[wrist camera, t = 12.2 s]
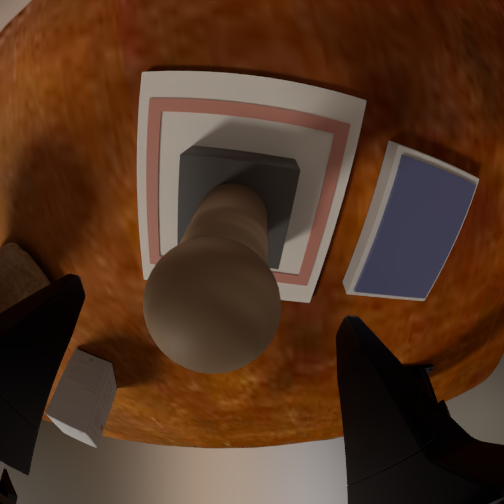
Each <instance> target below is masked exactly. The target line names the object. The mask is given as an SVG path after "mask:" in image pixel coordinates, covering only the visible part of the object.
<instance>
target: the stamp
mask: <svg viewBox="0 0 504 504" xmlns="http://www.w3.org/2000/svg"><path fill="white" fill-rule="evenodd" d="M299 175H300V168H299V166H298V164H297V162H296V160H295V159H292V158H286V157H280V156H274V155H268V154H261V153H254V152H247V151H240V150H232V149H223V148H214V147H203V146H191V147H189V148H188V149H187V150H185V151H184V152H183V153H181V154H180V163H179V185H178V232H177V243H178V245H177V246H175V247H174V248H172V249H171V250H169V251H168V252H167V253H166V254H165V255H164V256H163V257H162V258H161V259H160V260H159V261H158V262H157V264H156V265H155V267H154V268H153V270H152V271H151V273H150V275H149V278H148V280H147V283H146V286H145V291H144V298H143V310H144V317H145V322H146V325H147V328H148V330H149V333H150V335H151V337H152V338H153V340H154V342H155V343H156V345H157V346H158V347H159V349H160V350H161V351H162V352H163V353H164V354H165V355H166V356H167V357H168V358H170V359H171V360H172V361H174V362H175V363H177V364H179V365H181V366H183V367H185V368H187V369H190V370H193V371H196V372H201V373H211V374H212V373H225V372H230V371H233V370H236V369H239V368H241V367H244V366H245V365H247V364H249V363H250V362H252V361H253V360H255V359H256V358H257V357H258V356H259V355H260V354H261V353H262V352H263V351H264V350H265V349H266V348H267V346H268V345H269V344H270V342H271V340H272V339H273V337H274V335H275V332H276V330H277V327H278V324H279V319H280V315H281V298H280V292H279V287H278V285H277V282H276V279H275V277H274V275H273V273H272V271H271V269H270V268H272V269H279V265H280V261H281V256H282V252H283V248H284V244H285V239H286V235H287V230H288V226H289V222H290V217H291V213H292V208H293V203H294V199H295V194H296V189H297V185H298V180H299Z"/></svg>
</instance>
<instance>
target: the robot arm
mask: <svg viewBox="0 0 504 504" xmlns="http://www.w3.org/2000/svg"><path fill="white" fill-rule="evenodd" d="M84 300H85V292H84V289H83V285H82V282H81V279H80V277H79V276H78V275H74V274H68V275H66V276H64V277H62V278H60V279H58V280H57V281H55V282H53V283H51V284H49V285H47V286H46V287H44V288H42V289H40V290H39V291H37V292H35V293H33V294H32V295H30V296H28V297H26V298H25V299H23V300H21V301H20V302H18V303H16V304H15V305H13V306H11V307H10V308H8V309H6V310H5V311H3V312H1V313H0V504H16V501H17V494H16V492H15V490H14V487H13V485H12V483H11V480H10V478H9V475H8V472H7V470H6V469H5V468H4V466H5V464H7V465H8V466H10V467H12V468H14V469H16V470H18V471H20V472H22V473H24V474H26V475H29V472H30V466H31V461H32V456H33V452H34V447H35V442H36V439H37V435H38V430H39V427H40V423H41V420H42V416H43V413H44V409H45V406H46V403H47V400H48V397H49V394H50V391H51V388H52V385H53V382H54V380H55V377H56V374H57V371H58V369H59V366H60V364H61V361H62V359H63V356H64V354H65V351H66V349H67V346H68V344H69V342H70V339H71V337H72V334H73V331H74V329H75V326H76V323H77V320H78V317H79V314H80V311H81V308H82V305H83V303H84ZM336 351H337V379H338V388H339V396H340V404H341V413H342V422H343V432H344V442H345V454H346V468H347V485H348V486H347V489H348V504H504V445H500V444H494V443H488V442H483V441H479V440H477V439H475V438H473V437H471V436H470V435H469V434H468V433H467V432H466V431H465V430H464V429H462V428H461V427H460V426H459V425H458V424H457V423H456V422H455V421H454V420H453V419H452V418H451V416H450V413H449V410H448V407H447V405H446V403H445V401H444V399H443V400H442V401H440V402H439V403H438V402H437V399H436V396H435V393H434V390H433V387H432V385H431V382H430V379H429V377H428V375H429V374H430V373H431V371H432V370H433V369H434V366H433V365H425V366H413V367H404V366H403V365H402V364H401V362H400V361H399V360H398V359H397V358H396V357H395V356H394V355H393V354H392V353H391V351H390V350H389V349H388V348H387V347H386V346H385V345H384V344H383V343H382V342H381V341H380V339H379V338H378V337H377V336H376V335H375V334H374V333H373V332H372V331H371V330H370V329H369V328H368V327H367V325H366V324H365V323H364V322H363V321H362V320H361V319H360V318H359V317H357V316H349V315H348V316H346V317H345V318H344V319H343V321H342V323H341V325H340V327H339V329H338V331H337V334H336Z"/></svg>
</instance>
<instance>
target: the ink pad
mask: <svg viewBox="0 0 504 504" xmlns="http://www.w3.org/2000/svg"><path fill="white" fill-rule="evenodd" d="M478 182H479V179H478V178H477V177H475V176H473V175H472V174H470V173H468V172H466V171H464V170H462V169H460V168H457V167H455V166H453V165H451V164H449V163H446V162H444V161H442V160H439V159H437V158H435V157H432V156H430V155H427V154H425V153H422V152H420V151H417V150H415V149H412V148H409V147H406V146H404V145H401V144H398V143H395V142H392V141H388V145H387V149H386V153H385V156H384V160H383V164H382V168H381V171H380V175H379V178H378V182H377V185H376V188H375V192H374V195H373V198H372V201H371V205H370V208H369V211H368V214H367V217H366V220H365V223H364V226H363V229H362V232H361V234H360V237H359V240H358V243H357V246H356V248H355V251H354V254H353V256H352V259H351V262H350V264H349V267H348V269H347V272H346V274H345V277H344V280H343V285H344V288H345V291H346V294H352V295H362V296H372V297H383V298H394V299H405V300H417V301H425V299H426V297H427V295H428V294H429V292H430V290H431V288H432V287H433V285H434V283H435V281H436V279H437V277H438V276H439V274H440V272H441V270H442V268H443V266H444V264H445V262H446V260H447V258H448V256H449V254H450V252H451V250H452V248H453V245H454V243H455V241H456V239H457V237H458V234H459V232H460V230H461V227H462V225H463V223H464V220H465V218H466V215H467V213H468V210H469V207H470V205H471V202H472V199H473V196H474V194H475V191H476V188H477V185H478Z"/></svg>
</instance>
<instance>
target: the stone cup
mask: <svg viewBox="0 0 504 504" xmlns="http://www.w3.org/2000/svg"><path fill="white" fill-rule="evenodd" d="M49 284H51V283H50V282H49V280H48V278H47V277H46V275H45V274H44V272H43V271H42V270H41V268H40V267H39V266H38V265H37V263H36V262H35V261H34V260H33V258H32V257H31V256H30V255H29V254H28V253H27V252H26V251H24V250H23V249H22V248H21V247H20V246H19V245H18V244H16V243H12V242H11V243H8V244H6V245H4V246H3V247H1V248H0V313H1V312H3V311H5V310H6V309H8V308H10V307H11V306H13V305H15V304H16V303H18V302H20V301H21V300H23V299H25V298H26V297H28V296H30V295H32V294H33V293H35V292H37V291H39V290H40V289H42V288H44V287H46V286H47V285H49Z"/></svg>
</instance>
